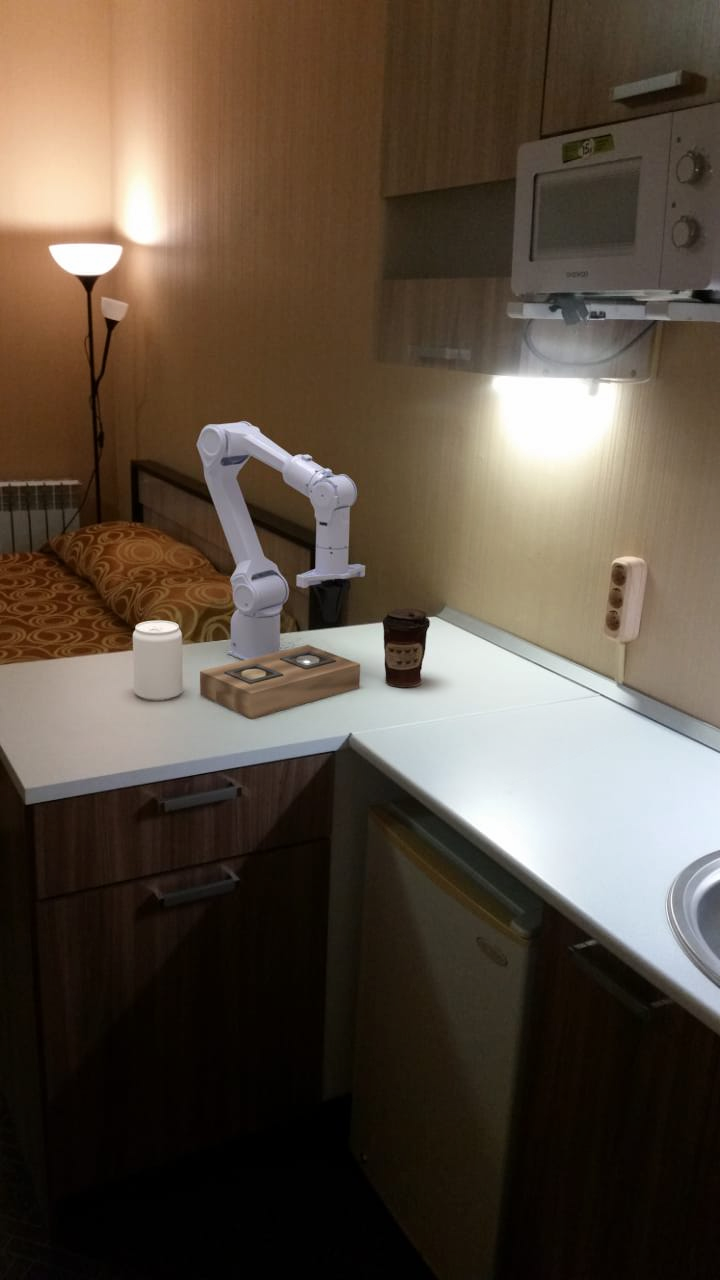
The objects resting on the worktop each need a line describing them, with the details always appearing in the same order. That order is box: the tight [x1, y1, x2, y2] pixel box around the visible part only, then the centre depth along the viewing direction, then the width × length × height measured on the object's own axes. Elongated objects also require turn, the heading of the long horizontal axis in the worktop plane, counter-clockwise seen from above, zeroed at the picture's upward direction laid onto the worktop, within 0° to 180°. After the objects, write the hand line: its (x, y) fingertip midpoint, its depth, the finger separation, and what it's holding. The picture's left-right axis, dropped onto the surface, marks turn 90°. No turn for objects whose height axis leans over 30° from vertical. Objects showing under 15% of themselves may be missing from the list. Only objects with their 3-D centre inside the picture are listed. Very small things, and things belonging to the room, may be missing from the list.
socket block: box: [199, 644, 361, 720], centre depth 187 cm, size 14×24×5 cm, turn 134°
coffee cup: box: [382, 608, 431, 688], centre depth 192 cm, size 9×8×13 cm
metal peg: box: [297, 656, 319, 665], centre depth 191 cm, size 4×4×4 cm
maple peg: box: [242, 669, 266, 680], centre depth 183 cm, size 4×4×4 cm
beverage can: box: [132, 620, 184, 701], centre depth 183 cm, size 8×8×12 cm
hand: (330, 620), depth 193 cm, fingers closed
